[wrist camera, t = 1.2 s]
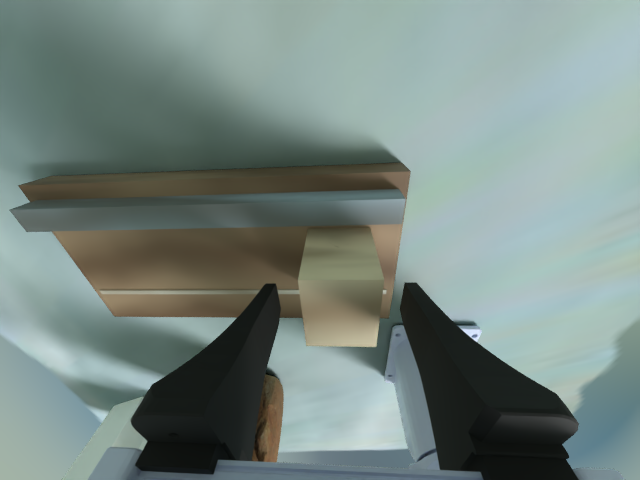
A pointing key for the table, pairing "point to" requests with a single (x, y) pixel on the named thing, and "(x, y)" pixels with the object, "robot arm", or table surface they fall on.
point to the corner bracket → (108, 439)
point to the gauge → (340, 288)
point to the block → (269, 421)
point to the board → (212, 231)
